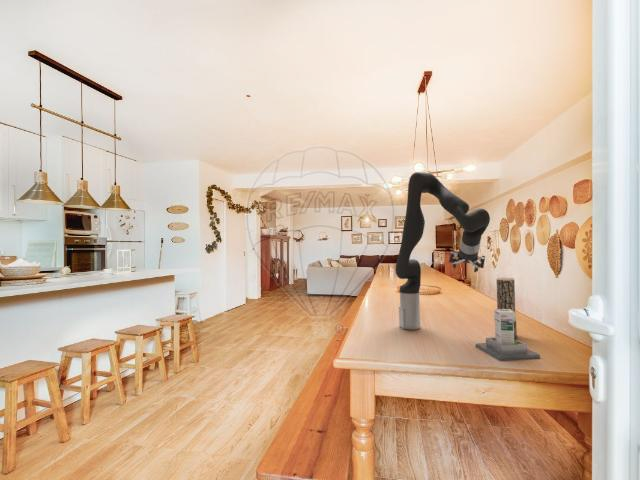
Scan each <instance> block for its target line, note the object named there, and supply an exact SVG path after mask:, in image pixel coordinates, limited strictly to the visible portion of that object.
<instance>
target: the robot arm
mask: <svg viewBox="0 0 640 480" xmlns="http://www.w3.org/2000/svg"><path fill="white" fill-rule="evenodd" d="M407 187H408V188H407V202H406V209H405V210H406V211H405V218H404V222H403V229H402V237H401V242H400V247H399V251H398V256H397V259H396V264H395V274H396V276H397V278H398V279H400V280H401V279H402V280H404V279H407V280H406V282H405V283H404V284H402V285H400V287H399V307H398V315H399V316H398V318H399V319H398V320H399V321H398V322H399V323H398V324H399V325H398V326H399V327H400V328H402V329H403V330H409V331H411V330H419V329H420V328H421V308H420V307H421V306H420V305H421V304H420V289H421V280H422V279H421V277H422V270H421V269H422V268H421V265H420V262H419V261H418V259H414V258H413V259H412V258H411V254H412V253H413V250H414V249H415V247H416V246H417V245H418V244H419V242H420V241H421V239H422V238H423V235H424V230H425V225H426V224H425V223H426V221H425V216H424V213H423V211H422V208H421V201H422V200H421V199H422V194H427V193H428V194H430V195H433V196H434V197H435V198H436V199H437V200H438V202H439V203H440V205H441V207H442V209H444V210H445V211H447V212H448V213H449V214H451V215H452V216H453V217H454V218H455V219H456V221H457V222H458V223H459V225H460V227H461V228H462V231H463V232H462V237H461V240H460V242H459V243H460V244H459V249H458V252H455V251H454V250H451V251H450V255H449V260H448V262H449V263H452V268H453V269H456V268H457V264H460V263H465V264H471V265H472V266H473V267H474V269H473V270H474V271H473V272H474V273H476V272H478V271H479V268H481V269H484V266H485V260H486V256H485V255H482V256H479V251H480V247H481V246H480V245H481V239H482V236H483V234H484V233H485V231H486V230H487V228H488V226H489V224H490V221H491V217H490V213H489V212H488V211H487V210H486V209H485V208H476V209H474V210H472V211H471V212H469V210H470V204H468V203H467V202H466V201H464V199H462V198H460V197H459V196H457V195H456V194H455V193H453V192H452V191H451V190H449V189H448V188H447V187H446V186H445V185H444V184H443V183H442V182H441V181H440V180H439V179H438V178H437V177H436V176H435V175H434V174H433V173H431V172H423V171H422V172H421V171H420V172H419V171H417V172H414V173H412V174H411V175H410V177H409V180H408V186H407ZM468 212H469V213H468ZM410 258H411V259H410ZM478 260H479V261H478Z"/></svg>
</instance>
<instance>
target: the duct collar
mask: <svg viewBox="0 0 640 480" xmlns="http://www.w3.org/2000/svg"><path fill="white" fill-rule="evenodd" d="M475 348H477V349H479V350H480V351H482V352H484V353H486V354H488V355H489V356H491V357H493V358H495V359H497V360H498V361H501V362H502V361H513V360H515V361H517V360H531V359H533V360H534V359H541V354H539V353H538V352H536V351H533V350H531V349H529V348H528V344H527V343H525V342H523V341H520V340H519V339H517V344H509V345H502V344H500V343H498V342H496V340H495V336H494V337H493V336H492V337H491V336H490V337H485V342H482V343H475Z"/></svg>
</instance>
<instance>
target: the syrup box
mask: <svg viewBox="0 0 640 480" xmlns="http://www.w3.org/2000/svg"><path fill="white" fill-rule="evenodd" d="M493 313H494V317H493V318H494V335H495V336H494V337H495V340H496V342H498V343H500V344H502V345H509V344H517V340H518V335H517V332H518V331H517V313H516V310H515V311H513V310H511V309H496V308H495V309H494V310H493Z"/></svg>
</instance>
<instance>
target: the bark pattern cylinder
mask: <svg viewBox="0 0 640 480" xmlns="http://www.w3.org/2000/svg"><path fill="white" fill-rule="evenodd" d="M495 280H496V306H497V307H496V308H497V309H511V310H513V311H515V312H516V294H515V293H516V292H515V291H516V290H515V286H516V285H515V277H508V276H507V277H505V276H504V277H502V276H501V277H496V279H495Z"/></svg>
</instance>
